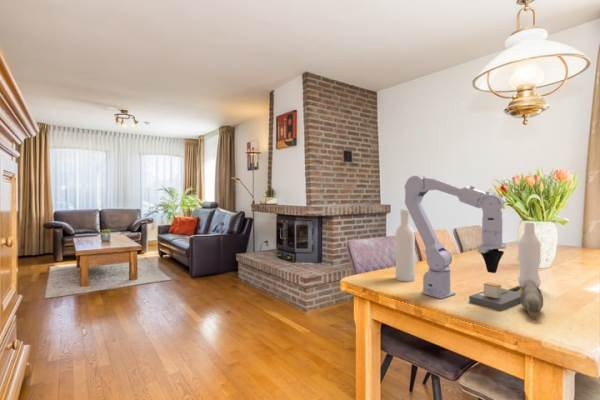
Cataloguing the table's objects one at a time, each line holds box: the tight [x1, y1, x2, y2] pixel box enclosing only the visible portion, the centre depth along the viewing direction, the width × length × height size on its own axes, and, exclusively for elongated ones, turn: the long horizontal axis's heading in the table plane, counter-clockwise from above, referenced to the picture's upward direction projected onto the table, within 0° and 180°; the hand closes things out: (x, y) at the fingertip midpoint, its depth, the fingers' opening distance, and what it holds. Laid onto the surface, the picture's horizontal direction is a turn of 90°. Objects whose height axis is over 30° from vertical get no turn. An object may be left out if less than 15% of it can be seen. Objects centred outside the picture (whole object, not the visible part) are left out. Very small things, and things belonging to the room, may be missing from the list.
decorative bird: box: [520, 279, 544, 321], centre depth 99 cm, size 6×17×8 cm, turn 147°
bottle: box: [395, 208, 416, 283], centre depth 137 cm, size 8×8×30 cm
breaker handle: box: [483, 281, 502, 299], centre depth 107 cm, size 3×4×4 cm
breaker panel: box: [468, 287, 521, 312], centre depth 109 cm, size 18×10×2 cm, turn 123°
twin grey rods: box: [508, 285, 521, 292], centre depth 117 cm, size 12×6×1 cm, turn 123°
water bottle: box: [517, 222, 542, 289], centre depth 124 cm, size 7×7×25 cm
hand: (491, 272), depth 106 cm, fingers closed
